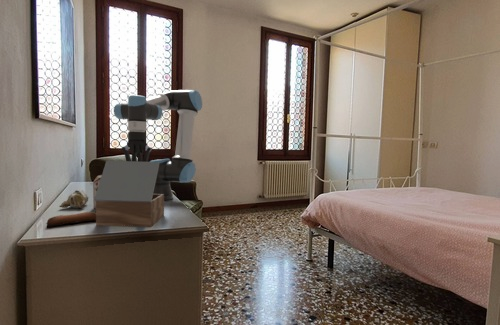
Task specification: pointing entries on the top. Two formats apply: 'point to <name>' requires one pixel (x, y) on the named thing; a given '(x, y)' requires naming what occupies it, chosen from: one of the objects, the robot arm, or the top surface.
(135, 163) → the lid
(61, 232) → the top surface
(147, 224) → the walnut box
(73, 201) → the ceramic sculpture
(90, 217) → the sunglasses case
